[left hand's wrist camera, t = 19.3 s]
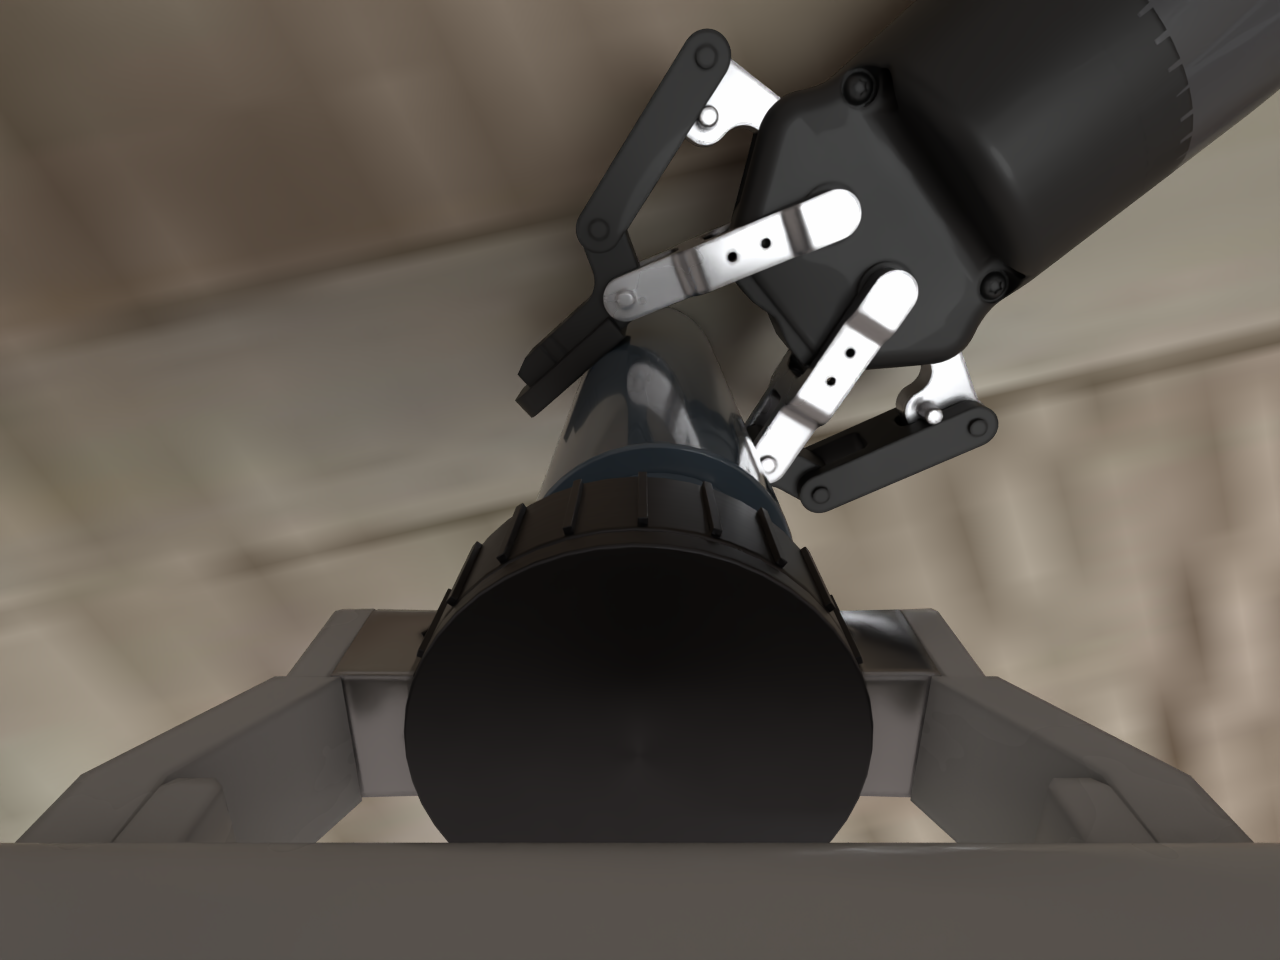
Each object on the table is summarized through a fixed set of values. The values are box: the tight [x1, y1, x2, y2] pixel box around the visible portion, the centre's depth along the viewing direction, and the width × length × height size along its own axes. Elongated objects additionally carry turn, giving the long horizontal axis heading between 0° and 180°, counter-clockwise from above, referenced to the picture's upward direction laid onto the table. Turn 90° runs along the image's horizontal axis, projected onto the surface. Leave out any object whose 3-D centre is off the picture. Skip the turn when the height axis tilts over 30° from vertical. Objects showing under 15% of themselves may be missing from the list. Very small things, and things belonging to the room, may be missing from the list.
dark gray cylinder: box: [536, 307, 793, 541], centre depth 19 cm, size 5×5×18 cm
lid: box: [404, 472, 874, 843], centre depth 9 cm, size 6×6×2 cm
